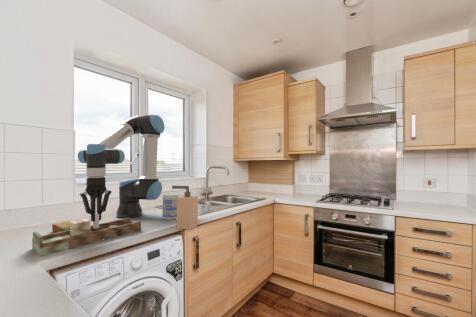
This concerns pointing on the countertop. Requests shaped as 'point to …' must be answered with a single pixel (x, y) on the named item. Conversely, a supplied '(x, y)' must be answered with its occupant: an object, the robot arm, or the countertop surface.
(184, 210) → the soap dispenser
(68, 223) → the carton
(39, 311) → the countertop surface
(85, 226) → the block
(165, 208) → the supplement tub
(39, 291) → the countertop surface
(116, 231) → the tray
